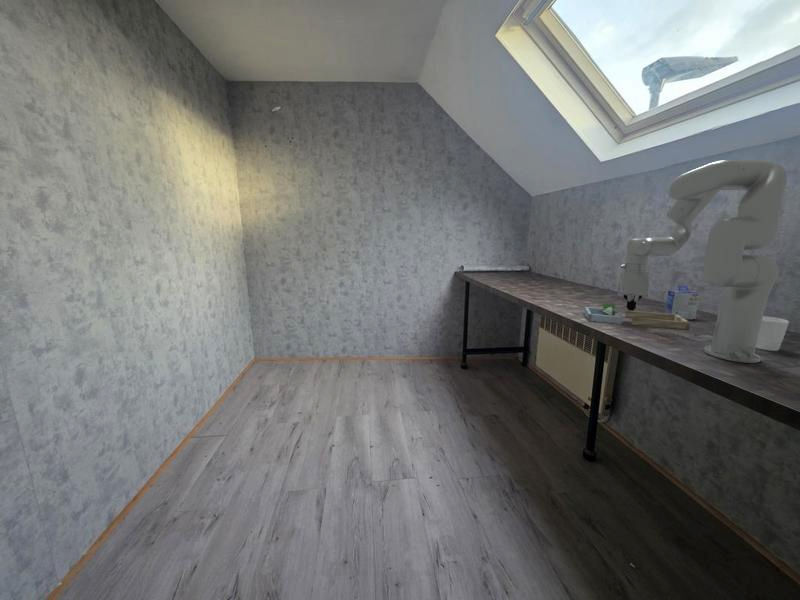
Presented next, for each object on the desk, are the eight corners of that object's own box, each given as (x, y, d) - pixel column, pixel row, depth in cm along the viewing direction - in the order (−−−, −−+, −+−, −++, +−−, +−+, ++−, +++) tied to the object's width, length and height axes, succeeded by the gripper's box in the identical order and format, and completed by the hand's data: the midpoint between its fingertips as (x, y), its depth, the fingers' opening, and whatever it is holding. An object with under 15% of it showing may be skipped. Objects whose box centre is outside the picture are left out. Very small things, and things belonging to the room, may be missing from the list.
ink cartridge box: (687, 316, 148) (693, 285, 145) (696, 320, 142) (702, 287, 139) (663, 315, 150) (668, 285, 147) (670, 319, 144) (676, 287, 141)
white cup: (760, 351, 106) (767, 321, 104) (740, 342, 114) (746, 315, 112) (789, 352, 105) (796, 322, 103) (766, 344, 112) (773, 316, 110)
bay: (621, 324, 137) (622, 317, 136) (588, 320, 142) (588, 314, 141) (614, 315, 151) (615, 309, 150) (584, 312, 156) (584, 306, 155)
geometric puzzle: (595, 311, 150) (601, 299, 144) (612, 311, 149) (618, 300, 143) (599, 323, 146) (604, 312, 140) (616, 324, 144) (622, 313, 138)
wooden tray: (688, 330, 128) (690, 322, 128) (632, 324, 136) (633, 317, 135) (675, 320, 141) (676, 314, 141) (624, 316, 149) (625, 310, 148)
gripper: (616, 268, 137) (612, 310, 140) (660, 269, 131) (654, 313, 134) (613, 267, 144) (608, 307, 147) (654, 267, 138) (649, 309, 141)
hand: (630, 310), depth 140 cm, fingers closed
